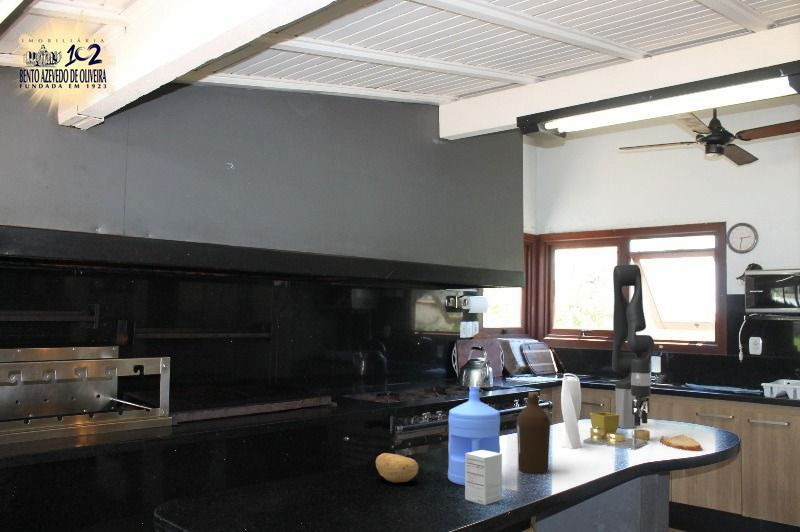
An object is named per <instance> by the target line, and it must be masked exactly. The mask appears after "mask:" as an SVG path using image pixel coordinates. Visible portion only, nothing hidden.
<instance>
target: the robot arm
mask: <svg viewBox="0 0 800 532" xmlns="http://www.w3.org/2000/svg"><path fill="white" fill-rule="evenodd" d="M612 275H613V276H612V277H613V279H612V280H613V281H612V282H613V283H612V284H613V319H612V321H613V324H612V325H613V332H612V333H613V343H612V344H613V345H612V355H611V368H612V371H613V373H618V374H629V375H628V376H627V377H625V378H622V379H620V380H617V381H615V385H614V387H615V414H618V415H619V424H618V428H619V427H620V429H628V428H630V429H632V428H633V429H637V428H638V427H640V426H641V424H644V425H645V424H648V414H649V413H650V410H651V409H650V397H651V393H652V392H651V389H652V388H651V386H652V385H651V373H650V372H651V370H650V369H651V367H650V365H651V358H652V355H653V351H654V348H655V341H654V338H653V336H651V335H648V334H637V333H639V332H643V331H644V330H646V328H647V322H646V317H645V312H644V304H643V303H644V302H643V300H644V299H643V296H644V295H643V281H642V280H643V279H642V272H641V269H640V266H639V265H638V264H618V265H615V266H614V267H613V273H612ZM623 287H633V293H632V294H633V295H632V297H631V300H629V301H628V299H626V296H625V295H624V292H623ZM625 342H626V347H627V349H628V350H629V352H627V351H626V352H624V351H623V352H622V351H621V350H622V348H623V347H624V345H625ZM636 353H642V354H641V356H640V357H638V355H637V354H636Z"/></svg>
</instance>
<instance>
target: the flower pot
mask: <svg viewBox="0 0 800 532" xmlns="http://www.w3.org/2000/svg"><path fill="white" fill-rule="evenodd" d="M589 416H590V417H589V418H590V423H591V428H596V427H600V428H603V429H605V435H606V433H610V432H614V433H617V430H618V429H619V427H618V424H619V415H618V414H616V413H612V412H603V411H602V412H590V413H589Z"/></svg>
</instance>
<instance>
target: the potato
mask: <svg viewBox="0 0 800 532" xmlns="http://www.w3.org/2000/svg"><path fill="white" fill-rule="evenodd" d="M375 467H376V469H377V472H378V473H379V475H380V476H381V477H383V478H384V479H385V480H386V481H388V482H390V483H408V482H409V481H411V480H412V479H414V478H415V477H416V475H417V474H418V473H419V464H418V462H416V460H415V459H413V458H411V457H406V456H404V455H401V454H394V453H389V452H388V453H387V452H384V453H381V454H380V455H378V456H376V460H375Z"/></svg>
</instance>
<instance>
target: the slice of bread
mask: <svg viewBox="0 0 800 532" xmlns="http://www.w3.org/2000/svg"><path fill="white" fill-rule="evenodd" d="M659 443H660V444H661V443H662V444H661V445H663V444H664V445H663V446H665V445H666V446H665V447H669V448H671V447H672V448H671V449H677V450H680V449H681V451H689V452H702V451H703V449H702V446H701V444H700V443H699V441H697V440H696V439H693V438H692V437H689V436H687V435H685V434H680V435H674V436H672V437H668V436H665V435H662V436H661V438H660V440H659Z"/></svg>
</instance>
